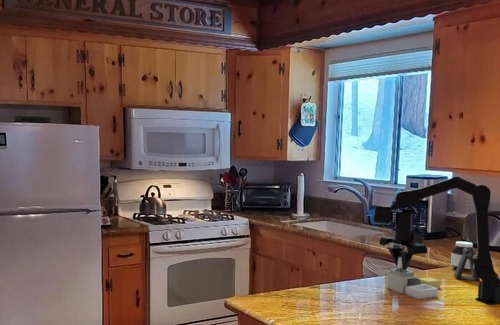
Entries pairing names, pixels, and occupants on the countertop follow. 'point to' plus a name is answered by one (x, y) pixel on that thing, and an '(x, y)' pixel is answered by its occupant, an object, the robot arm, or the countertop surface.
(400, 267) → the pin
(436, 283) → the chock
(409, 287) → the tray
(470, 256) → the phone stand
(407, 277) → the grey-green hollow stepped block
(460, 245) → the spread jar
